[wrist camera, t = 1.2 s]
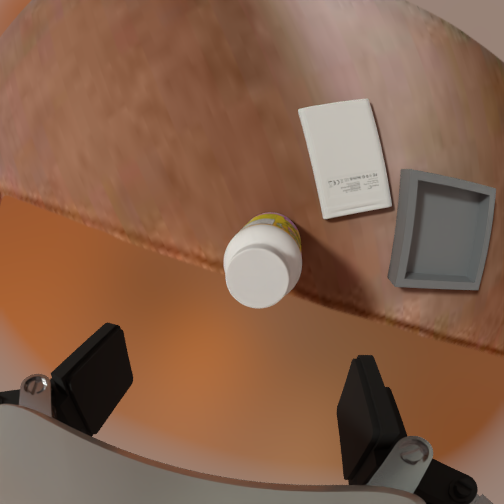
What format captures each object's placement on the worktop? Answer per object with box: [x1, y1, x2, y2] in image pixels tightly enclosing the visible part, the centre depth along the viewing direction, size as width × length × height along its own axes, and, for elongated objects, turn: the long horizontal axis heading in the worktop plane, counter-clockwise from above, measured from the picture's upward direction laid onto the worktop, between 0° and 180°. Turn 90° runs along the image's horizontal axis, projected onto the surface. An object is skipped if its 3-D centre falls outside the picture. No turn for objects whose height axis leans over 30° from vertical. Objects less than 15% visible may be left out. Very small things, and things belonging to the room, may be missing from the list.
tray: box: [388, 169, 496, 290], centre depth 28 cm, size 13×13×3 cm
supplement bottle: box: [224, 213, 302, 308], centre depth 27 cm, size 7×7×13 cm
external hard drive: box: [298, 99, 392, 219], centre depth 29 cm, size 2×8×12 cm
